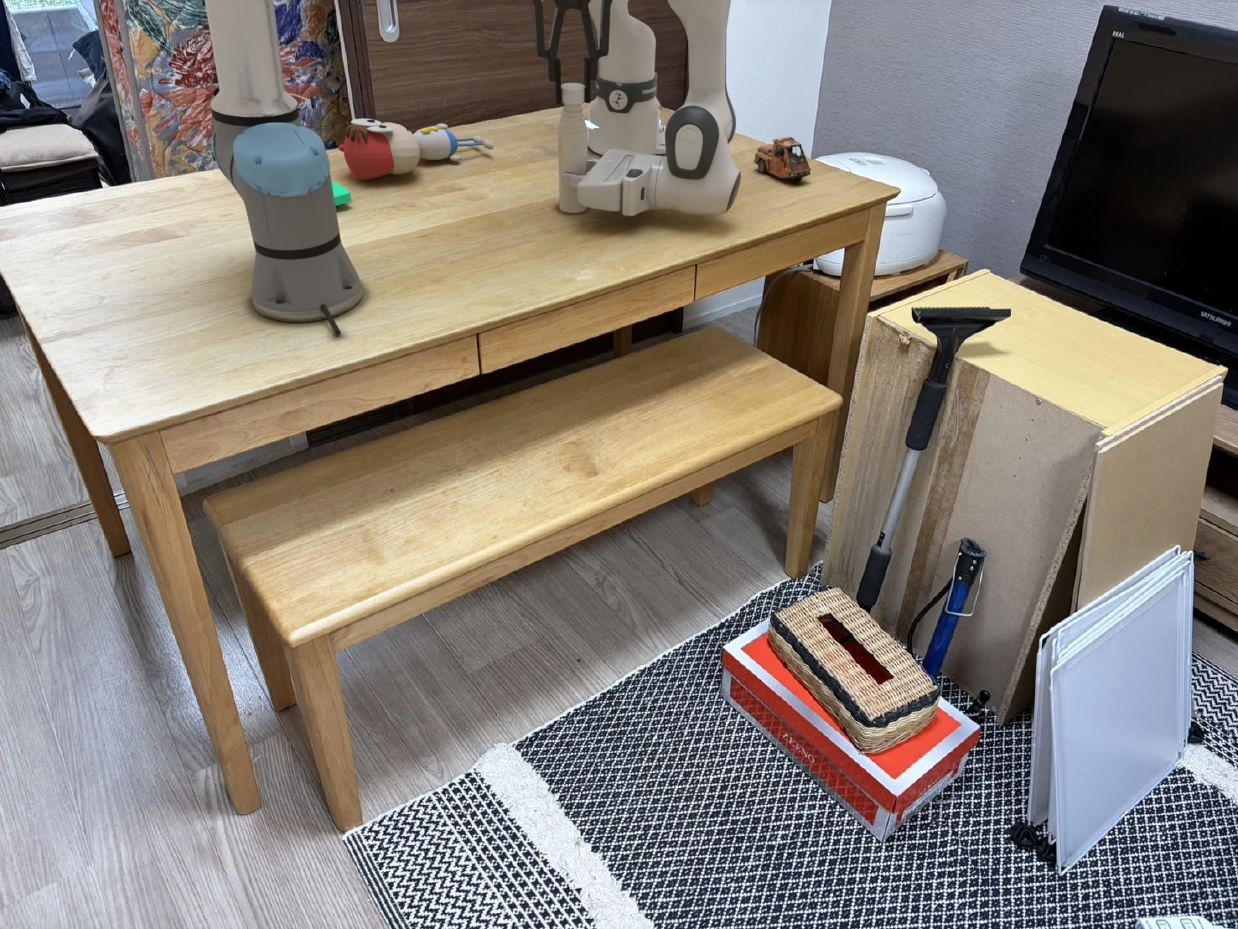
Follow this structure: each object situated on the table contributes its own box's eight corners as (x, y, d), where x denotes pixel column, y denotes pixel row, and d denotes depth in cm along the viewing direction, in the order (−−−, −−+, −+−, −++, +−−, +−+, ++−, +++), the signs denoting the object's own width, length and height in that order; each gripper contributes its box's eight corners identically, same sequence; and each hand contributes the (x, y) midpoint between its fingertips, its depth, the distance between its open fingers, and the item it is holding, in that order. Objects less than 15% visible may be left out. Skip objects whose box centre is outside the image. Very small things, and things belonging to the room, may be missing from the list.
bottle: (592, 209, 165) (593, 91, 153) (570, 215, 162) (569, 96, 150) (575, 200, 168) (575, 85, 156) (553, 206, 166) (551, 89, 153)
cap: (581, 105, 152) (581, 90, 151) (557, 102, 153) (557, 88, 151) (587, 98, 156) (587, 83, 154) (563, 96, 156) (563, 81, 155)
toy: (509, 125, 177) (354, 129, 162) (508, 179, 181) (358, 188, 166) (468, 109, 190) (322, 111, 175) (468, 160, 195) (326, 166, 180)
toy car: (770, 163, 186) (774, 128, 182) (815, 180, 179) (820, 144, 175) (747, 169, 183) (751, 133, 179) (792, 187, 176) (798, 150, 172)
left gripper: (516, -56, 136) (522, 108, 150) (631, -55, 138) (627, 106, 152) (513, -63, 142) (519, 95, 156) (624, -62, 144) (620, 93, 158)
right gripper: (659, 144, 165) (585, 135, 168) (630, 182, 149) (548, 172, 152) (658, 179, 169) (585, 170, 172) (628, 220, 153) (549, 209, 156)
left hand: (572, 100), depth 154 cm, fingers closed on cap, 4 cm apart
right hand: (568, 171), depth 162 cm, fingers closed on bottle, 5 cm apart
